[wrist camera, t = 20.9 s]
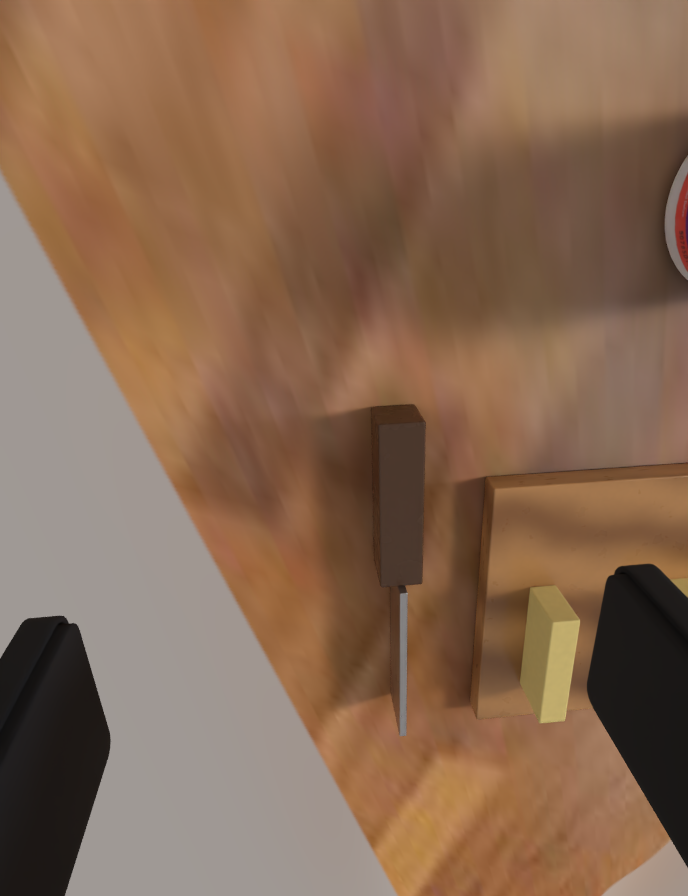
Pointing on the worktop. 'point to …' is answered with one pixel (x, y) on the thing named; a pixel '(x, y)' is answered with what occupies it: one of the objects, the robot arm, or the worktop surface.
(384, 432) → the knife
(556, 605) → the butter pat
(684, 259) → the pill bottle
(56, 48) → the worktop surface
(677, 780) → the robot arm
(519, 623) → the cutting board
